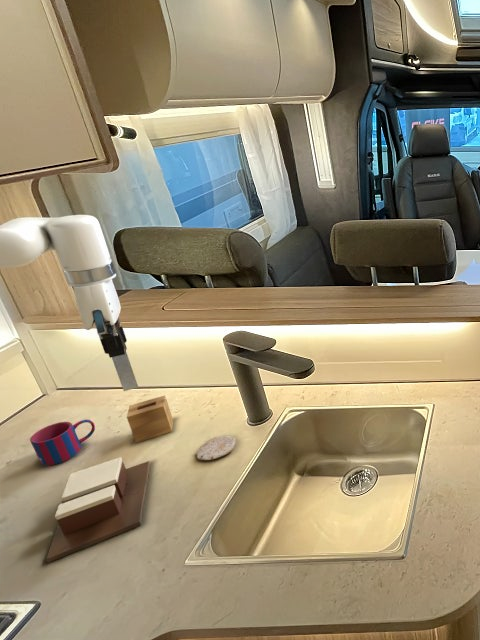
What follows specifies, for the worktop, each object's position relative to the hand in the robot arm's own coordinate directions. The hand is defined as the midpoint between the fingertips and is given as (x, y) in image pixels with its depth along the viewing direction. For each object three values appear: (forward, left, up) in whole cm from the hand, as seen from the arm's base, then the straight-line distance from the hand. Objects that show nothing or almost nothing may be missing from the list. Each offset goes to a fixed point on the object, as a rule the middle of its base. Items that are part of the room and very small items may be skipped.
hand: (116, 347), depth 94 cm
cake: (-6, -15, -26) cm, 31 cm away
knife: (0, 0, -12) cm, 12 cm away
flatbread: (+14, -13, -27) cm, 33 cm away
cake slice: (-6, -22, -26) cm, 35 cm away
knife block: (+1, +3, -27) cm, 27 cm away
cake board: (-5, -19, -27) cm, 33 cm away
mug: (-15, +6, -27) cm, 31 cm away
